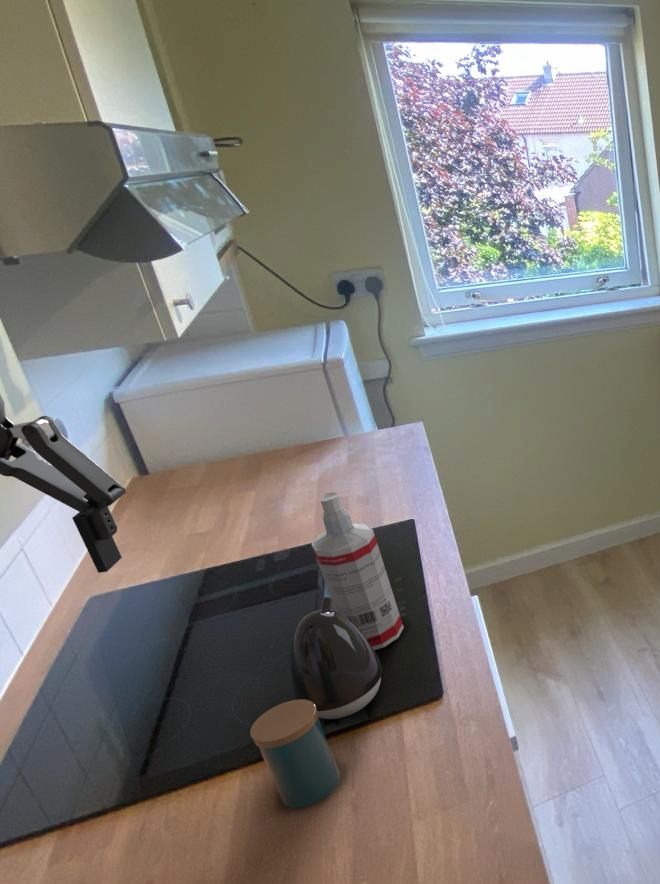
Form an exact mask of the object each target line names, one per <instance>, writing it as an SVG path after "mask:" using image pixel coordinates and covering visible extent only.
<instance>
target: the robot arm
mask: <svg viewBox="0 0 660 884" xmlns="http://www.w3.org/2000/svg"><path fill="white" fill-rule="evenodd" d="M5 408H6V407H5V401H4V398H3V396H2V394H1V393H0V475H1V476H4V477H12V478H15V479H17V480H18V481H21V482H23V483H24V484H26V485H28V486H30V487H31V488H33V489H36V490H37V491H39V492H41V493H43V494H45V495H47V496H49V498H52V499H54V500H56V501H58V502H60V503H62V504H64V505H65V506H68V507H69V508H71V509H73V510H75V511H77V512H78V513H77V514H74V515H73V516H72V517H71V518H72V521H73V523H74V525H75V527H76V529H77V531H78V533H79V535H80V538H81V540H82V542H83V544H84V546H85V548H86V550H87V553H88V554H89V557H90V558H91V560H92V562H93V563H92V564H93V565H94V567H95V569H96V571H97V573H98V574H100V573H107V572H109V571H110V570H111V569H112V568H113V567H114V566H115V565H116V564H117V563H118V562H119V561H120V560H121V559H122V557H123V556H122V554H121V553H120V550H119V548H118V546H117V544H116V541H115V539H114V537H113V536H114V535H116V534H117V532H118V525H117V524H116V521H115V519H114V517H113V515H112V513H111V511H110V508H109V506H110V507H111V505H113V504H114V503H115V502H117V501H118V500H120V498H121V497H123V496H124V495H125V494H126V492H127V490H126V488H125V487H124V485H122V484H121V483H120V482H119V481H117V479H115V478H114V477H113V476H111V475H110V474H109V473H108V472H106V470H105V469H103V468H102V467H101V466H100V465H98V464H97V463H96V462H95V461H94V460H93V459H91V458H90V457H89V456H88V455H87V454H86V453H84V451H82V450H81V449H79V447H78V446H76V445H75V444H74V443H73V442H71V441H70V440H69V439H68V438H67V437H65V436H64V435H63V433H62V431H61V430H60V428H59V427H58V425H57V424H56V422H55V420H54V419H53V418H52V417H51V416H47V415H41V416H39V417H37V418H35V419H34V420H31V421H27V422H21V423H14V421H13V422H12V420H11V419H9V418H8V416H7V415H6V410H5ZM19 439H20V440H22V441H21V443H19V442H18V441H19ZM29 445H30V447H31V448H32V449H33V450H32V449H31V448H29V447H27V446H29ZM38 456H40V457H41V458H42V459H41V458H39V457H38ZM11 457H12V458H15V459H13V460H11ZM10 460H11V461H10Z"/></svg>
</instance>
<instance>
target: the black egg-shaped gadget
mask: <svg viewBox="0 0 660 884" xmlns="http://www.w3.org/2000/svg"><path fill="white" fill-rule="evenodd" d="M332 607H333V603H332V599H331V598H330V596H325V597H323V598H322V601H321V604H320V608H319V609H318V610H315V611H312V612H309V613H308V614H306V615H305V616H304V617H303V618H301V620H300V621H299V622H298V624H297V625H296V628H295V630H294V633H293V636H292V639H291V646H290V677H291V683H292V690H293V695H294V698H295V700H298V699H304V700H309V701H311V702H313V703H314V704H315V706H316V708H317V711H318V719H324V720H338V719H342V718H345V717H349V716H351V715H353V714H356V713H357V712H359V711H360V710H362V709H363V708H365V707H366V706H367V705H368V704H370V702H372V700H374V698H375V696H376V695H377V693H378V691H379V688H380V685H381V681H382V674H383V666H382V662H381V660H380V658H379V656H378V654H377V652H376V650H374V649H373V647H372V646H371V644H370V643H369V641H368V640H367V639H366V637H365V636H364V635H363V634H362V632H361V631H360V630H359V629H358V628H357V627H356V626H355V625H354V624H353V623H352V622H351V621H350V620H349V619H347V618H346V617H345V616H343V615H341V614H340V613H338V612H335V610H332V609H333V608H332Z"/></svg>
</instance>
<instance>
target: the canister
mask: <svg viewBox="0 0 660 884" xmlns="http://www.w3.org/2000/svg"><path fill="white" fill-rule="evenodd" d="M249 735H250V738H251V740H252V742H253V744H254V745H255V746H256V747H257V748H258V750H259V752H260V754H261V757H262V759H263V761H264V763H265V766H266V768H267V770H268V772H269V775H270V776H271V778H272V781H273V783H274V785H275V787H276V790H277V792H278V793H279V796H280V798H281V800H282V803H283V804H284V806H285V807H287V808H290V809H302V808H306V807H309V806H313V805H315V804H316V803H319V802H320V801H322V800H324V799H325V798H327V796H329V795H330V794H331V793H332V792H333V791H334V790H335V789H336V788H337V786H338V784H339V782H340V780H341V772H340V769H339V766H338V763H337V762H336V760H335V759H336V758H335V757H334V754H333V752H332V749H331V746H330V744H329V742H328V739H327V736H326V734H325V732H324V729H323V727H322V724H321V722H320V718H319V717H318V711H317V708H316V706H315V704H314V703H313V702H311V701H309V700H304V699H298V700H296V699H292V700H289V701H285V702H282V703H279V704H278V705H275V706H273V707H272V708H270V709H268V710H266V711H264V713H262V714H261V715H260V716H259V717H258V718H257V719H256V720H255V721H254V723H253V724H252V726H251V728H250V731H249Z"/></svg>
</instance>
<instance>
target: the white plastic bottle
mask: <svg viewBox="0 0 660 884" xmlns="http://www.w3.org/2000/svg"><path fill="white" fill-rule="evenodd" d="M319 501H320V504H321V507H322V510H323V512H322V517H323V518H322V521H323V524H324V528H325V532H323V533H320V534H318V535H317V537H316V538H315V539H314V540H313V541H312V543H311V548H312V550H313V553H314V557H315V559H316V561H317V564H318V566H319V569H320V572H321V575H322V578H323V580H324V581H323V582H324V583H325V587H326V589H327V592H328V595H329V597H330V598H331V599H332V607H333V609H334V611H335V612H338V613H340V614H341V615H343V616H345V617H346V618H347V619H349V620H350V621H351V622H352V623H353V624H354V625H355V626H356V627H357V628H358V629H359V630H360V631H361V632H362V634H363V635H364V636H365V637H366V639H367V640H368V641H369V643H370V644H371V646H372V647H373V649H374V651H377V650H380V649H382V648H386V647H387V646H388V645H390V644H391V643H393V642H394V641H397V639H399V637H400V635H401V634H402V632H403V630H404V628H405V627H404V624H403V621H402V618H401V614H400V611H399V608H398V604H397V602H396V598H395V596H394V592H393V589H392V586H391V583H390V580H389V576H388V573H387V570H386V567H385V564H384V561H383V557H382V554H381V552H380V547H379V545H378V541H377V538H376V535H375V532H374V529H373V528H372V527H371V526H370V525H369V524H368V523H357V522H352V519H351V516H350V514H349V512H348V511H347V509H346V508H345V507H344V506H343V504H342V501H341V498H340V495H339V494H338V493H337V492H333V491H332V492H327V493H325V494H324V495H322V496H321V498H320V499H319Z"/></svg>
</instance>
